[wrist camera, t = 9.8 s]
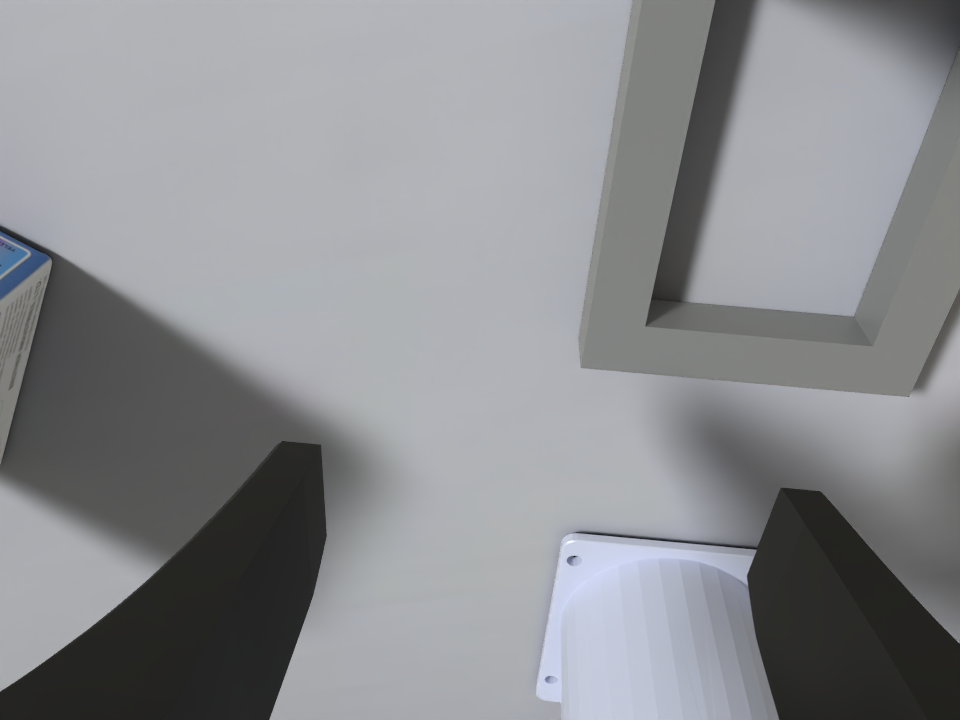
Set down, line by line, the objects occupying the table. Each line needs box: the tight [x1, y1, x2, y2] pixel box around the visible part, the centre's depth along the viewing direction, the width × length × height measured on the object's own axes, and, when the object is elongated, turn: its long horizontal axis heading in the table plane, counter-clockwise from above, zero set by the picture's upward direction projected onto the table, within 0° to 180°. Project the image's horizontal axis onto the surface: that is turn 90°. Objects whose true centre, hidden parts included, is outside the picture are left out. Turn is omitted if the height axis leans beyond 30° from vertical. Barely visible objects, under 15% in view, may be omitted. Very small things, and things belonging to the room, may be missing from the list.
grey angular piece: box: [579, 0, 960, 397], centre depth 15 cm, size 13×9×9 cm
